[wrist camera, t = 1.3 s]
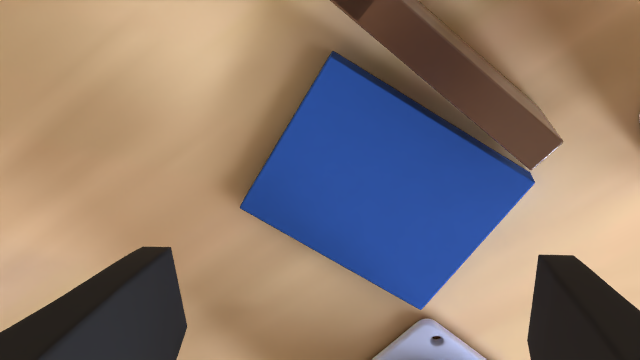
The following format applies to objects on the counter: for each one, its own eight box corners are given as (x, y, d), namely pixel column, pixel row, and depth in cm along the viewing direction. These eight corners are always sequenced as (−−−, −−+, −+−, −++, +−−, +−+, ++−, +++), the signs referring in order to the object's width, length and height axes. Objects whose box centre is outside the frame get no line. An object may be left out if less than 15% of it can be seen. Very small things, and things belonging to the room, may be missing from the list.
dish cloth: (530, 172, 19) (536, 182, 18) (420, 297, 22) (420, 310, 21) (332, 49, 18) (330, 55, 17) (244, 198, 21) (238, 208, 20)
